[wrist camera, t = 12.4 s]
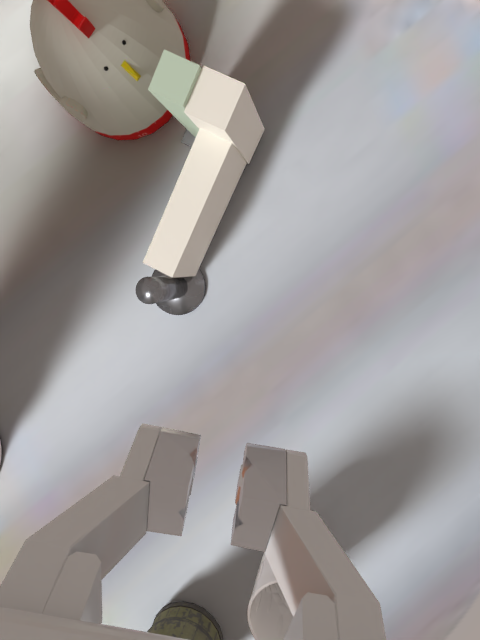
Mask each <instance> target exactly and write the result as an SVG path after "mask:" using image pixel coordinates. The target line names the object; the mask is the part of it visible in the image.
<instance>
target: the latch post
mask: <svg viewBox="0 0 480 640" xmlns="http://www.w3.org/2000/svg"><path fill="white" fill-rule="evenodd" d="M201 69H202V68H201V66H200V65H198V64H196V63H194V62H191V61H189V60H187V59H185V58H182V57H180V56H178V55H176V54H174V53H171V52H169V51H167V50H165V49H164V51H163V53H162V56H161V58H160V61H159V63H158V66H157V68H156V71H155V73H154V76H153V78H152V81H151V83H150V86H149V88H148V90H149V91H150V92H151V93H152V94H153V95H154V96H155V97H156V98H157V99H158V100H159V101H160V102H161V103H162V104H163V105H164V106H165V108H166V109H167V110H168V111H169V112H170V113H171V114H172V115H173V116H174V117H175V118H176V119H177V120H178V121H179V122H180V123H181V124H182V125H183V126H184V127H185V128H186V132H185V134H184V136H183V139H182V141H181V142H182V143H184V144H186V145H188V146H190V147H192V145H193V143H194V140H195V138H196V136H197V133H198V131H199V128H198V127H197V126H196V125H195V124H194V123H193V122H192V120H191V119H190V118H189V117H188V116H187V115H186V114H185V113H184V110H185V107H186V105H187V103H188V100H189V98H190V95H191V93H192V91H193V88H194V86H195V83H196V81H197V79H198V76H199V74H200V71H201Z"/></svg>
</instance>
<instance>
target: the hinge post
mask: <svg viewBox="0 0 480 640" xmlns="http://www.w3.org/2000/svg"><path fill="white" fill-rule="evenodd" d="M204 294H205V280H204V277H203V274H202V273H201V271H200V270H199V269H198V271H197V274H196V276H190V277H175V278H172V277H170V276H168V275H166V274H164V273H162V272H160V271H158V270H156V269H155V271H154V273H153V275H152V277H144V278H142V279H141V280H140V281H139V282H138V283H137V285H136V295H137V297H138V298H139V300H140V301H141V302H143V303H145V304H153V303H156V304H157V305H158V306H159V307H160V308H161V309H162V310H163V311H165V312H167V313H169V314H173V315H183V314H187V313H189V312H191V311H193V310H194V309H196V308H197V307H198V306H199V304H200V303H201V302H202V300H203V297H204Z"/></svg>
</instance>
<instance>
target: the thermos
mask: <svg viewBox="0 0 480 640" xmlns="http://www.w3.org/2000/svg"><path fill="white" fill-rule="evenodd" d="M147 632H149V633H154V634H160V635H166V636H171V637H177V638H183V639H188V640H223V636H222V633H221V630H220V626H219V625H218V623H217V622H216V620H215V619H214V617H213V616H212V615H211V614H209V613H208V612H207V611H206V610H205V609H204V608H201V607H199V606H197V605H195V604H193V603H187V602H176V603H171V604H169V605H167V606H165V607H163V608H162V609H161V610H160V612H159V613H158V614H157V615H156V617H155V619H154V622H153V625H152V627H151V628H150V629H149V630H148V631H147Z"/></svg>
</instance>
